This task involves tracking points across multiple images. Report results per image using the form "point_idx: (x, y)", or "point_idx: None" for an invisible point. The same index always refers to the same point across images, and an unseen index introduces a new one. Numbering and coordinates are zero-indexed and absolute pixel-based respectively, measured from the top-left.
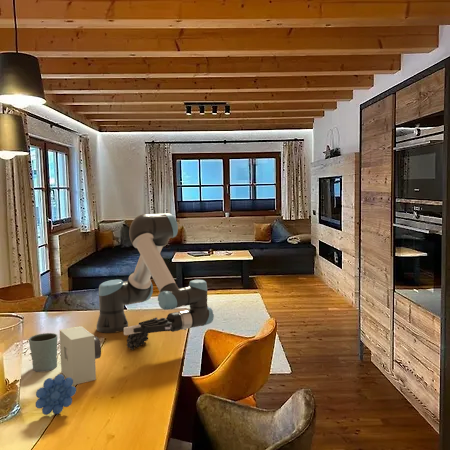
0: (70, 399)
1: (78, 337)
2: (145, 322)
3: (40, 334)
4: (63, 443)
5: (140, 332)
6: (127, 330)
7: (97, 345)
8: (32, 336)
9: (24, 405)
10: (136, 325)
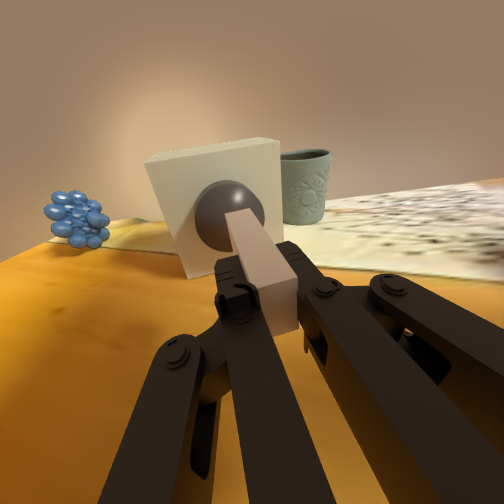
0: (68, 240)
1: (160, 155)
2: (481, 371)
3: (324, 150)
4: (8, 260)
5: (304, 346)
6: (230, 235)
7: (195, 210)
8: (313, 149)
9: (162, 221)
10: (270, 257)
